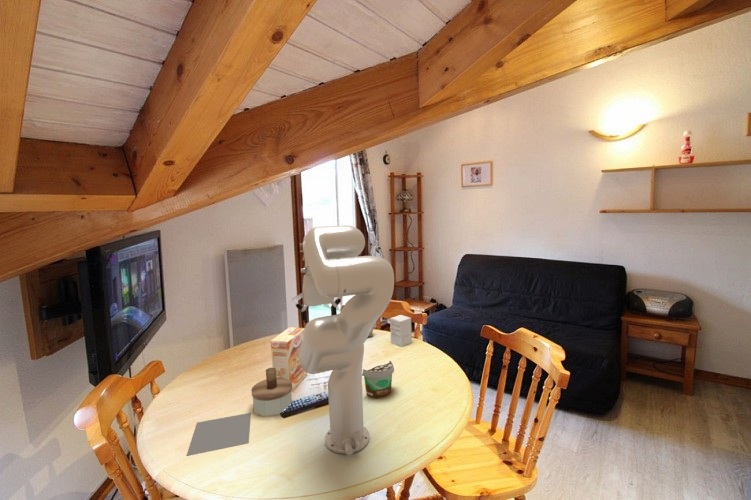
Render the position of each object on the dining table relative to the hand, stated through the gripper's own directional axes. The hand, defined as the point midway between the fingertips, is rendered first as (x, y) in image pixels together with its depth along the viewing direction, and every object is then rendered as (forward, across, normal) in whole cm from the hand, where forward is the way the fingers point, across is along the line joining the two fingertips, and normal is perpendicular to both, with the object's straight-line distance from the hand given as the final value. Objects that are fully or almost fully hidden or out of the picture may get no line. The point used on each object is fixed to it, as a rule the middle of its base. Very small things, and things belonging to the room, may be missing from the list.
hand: (319, 320), depth 123 cm
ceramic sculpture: (+28, +29, +50) cm, 64 cm away
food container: (+28, +20, -6) cm, 35 cm away
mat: (+28, -33, -8) cm, 44 cm away
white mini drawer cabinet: (+28, +45, +34) cm, 63 cm away
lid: (+22, -17, +1) cm, 28 cm away
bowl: (+28, -17, +1) cm, 33 cm away
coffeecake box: (+28, -9, +16) cm, 33 cm away
